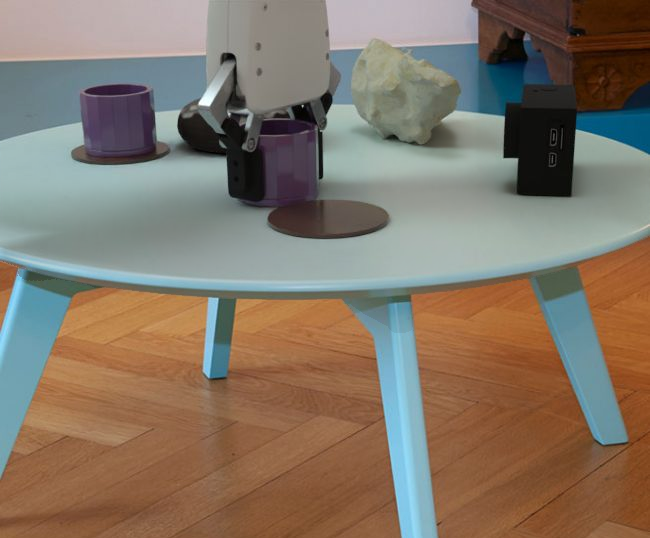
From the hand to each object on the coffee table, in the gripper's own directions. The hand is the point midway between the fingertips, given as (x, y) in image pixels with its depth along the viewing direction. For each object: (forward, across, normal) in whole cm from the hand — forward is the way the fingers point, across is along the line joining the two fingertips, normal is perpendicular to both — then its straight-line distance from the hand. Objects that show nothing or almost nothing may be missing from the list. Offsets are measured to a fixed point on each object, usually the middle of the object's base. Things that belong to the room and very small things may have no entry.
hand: (276, 186), depth 90 cm
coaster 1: (+1, -3, -22) cm, 22 cm away
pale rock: (+1, -23, -1) cm, 23 cm away
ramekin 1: (0, -4, -22) cm, 22 cm away
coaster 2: (+1, +3, +7) cm, 8 cm away
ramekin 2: (+1, 0, 0) cm, 1 cm away
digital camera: (+1, -16, +15) cm, 22 cm away
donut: (+1, -12, -15) cm, 19 cm away
